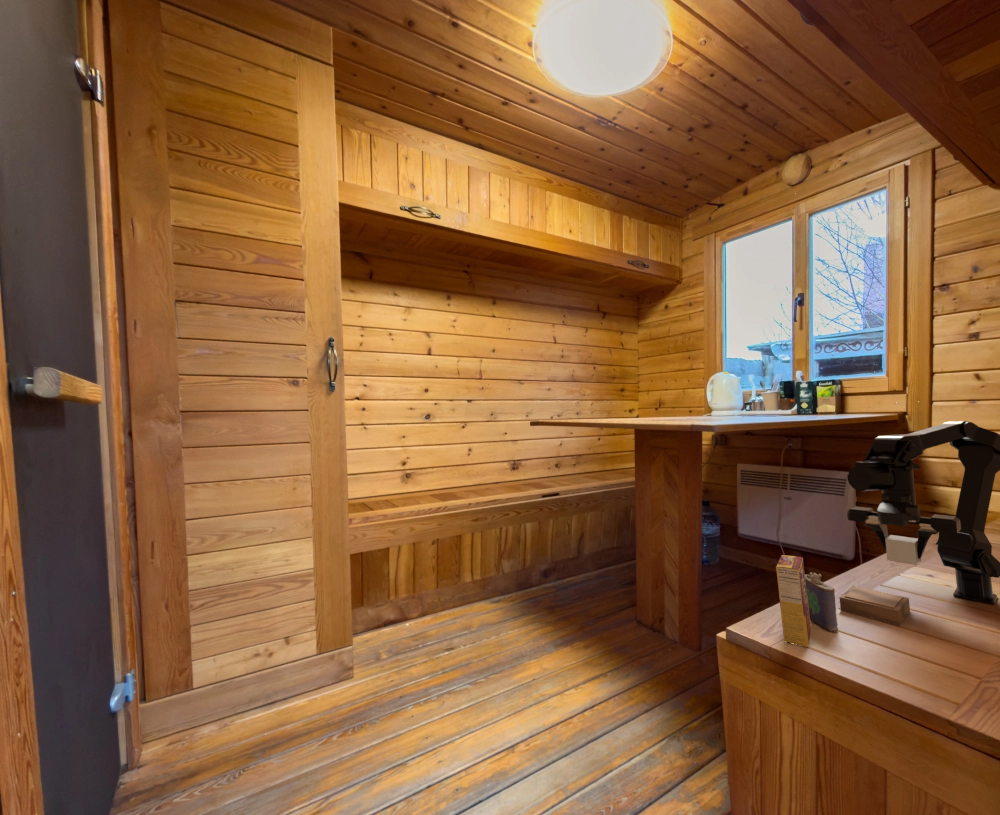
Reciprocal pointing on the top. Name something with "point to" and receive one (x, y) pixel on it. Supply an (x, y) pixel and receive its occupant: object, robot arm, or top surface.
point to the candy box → (793, 600)
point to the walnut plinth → (875, 605)
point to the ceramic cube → (902, 549)
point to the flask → (821, 603)
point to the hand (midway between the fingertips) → (903, 555)
